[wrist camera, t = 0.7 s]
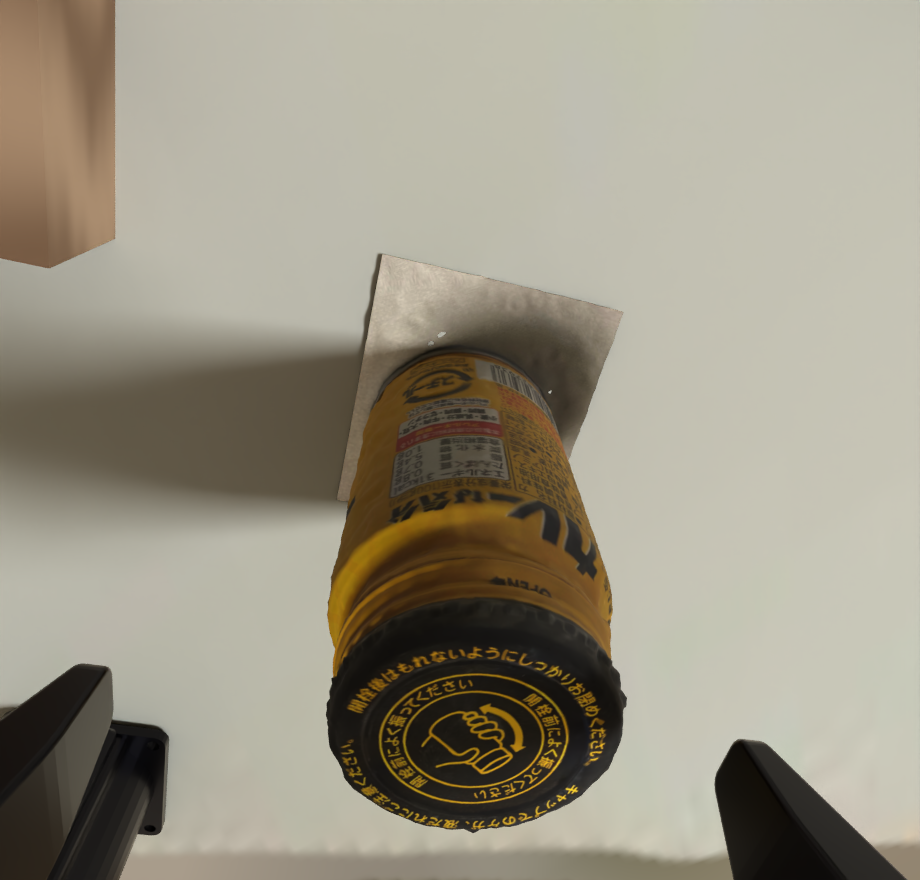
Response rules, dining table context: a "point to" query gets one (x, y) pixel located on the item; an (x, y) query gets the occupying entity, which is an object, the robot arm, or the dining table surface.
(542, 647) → the condiment
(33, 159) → the brown flat box
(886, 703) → the dining table surface
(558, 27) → the dining table surface
